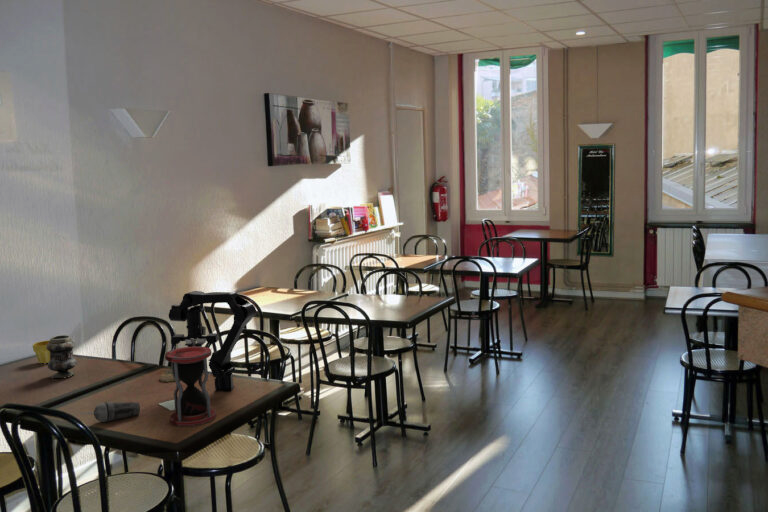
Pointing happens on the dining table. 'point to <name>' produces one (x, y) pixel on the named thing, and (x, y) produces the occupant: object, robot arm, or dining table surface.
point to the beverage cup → (115, 411)
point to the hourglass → (190, 386)
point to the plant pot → (42, 351)
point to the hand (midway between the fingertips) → (196, 358)
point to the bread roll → (167, 376)
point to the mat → (168, 405)
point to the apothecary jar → (61, 355)
